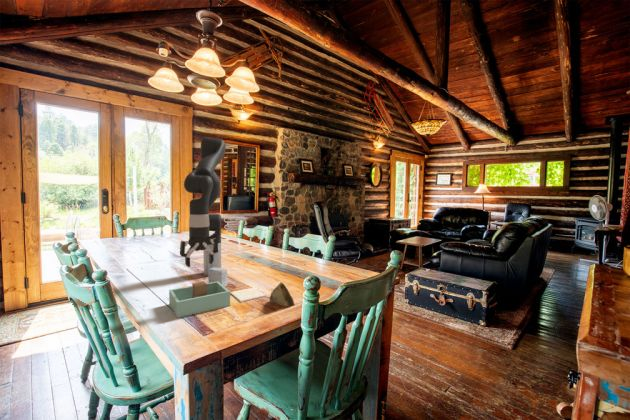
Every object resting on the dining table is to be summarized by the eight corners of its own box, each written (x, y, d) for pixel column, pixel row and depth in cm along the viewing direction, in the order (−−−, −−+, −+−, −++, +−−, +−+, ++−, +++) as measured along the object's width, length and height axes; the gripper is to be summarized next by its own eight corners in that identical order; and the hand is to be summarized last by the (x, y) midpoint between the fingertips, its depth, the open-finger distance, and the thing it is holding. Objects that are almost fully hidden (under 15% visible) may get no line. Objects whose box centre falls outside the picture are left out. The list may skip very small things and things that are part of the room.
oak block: (192, 304, 118) (192, 283, 117) (203, 302, 120) (203, 281, 119) (195, 308, 114) (195, 286, 113) (207, 305, 117) (206, 284, 116)
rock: (262, 296, 122) (270, 301, 113) (273, 278, 125) (281, 282, 116) (281, 307, 126) (290, 313, 117) (292, 290, 129) (301, 295, 120)
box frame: (169, 304, 117) (169, 289, 117) (218, 294, 129) (218, 281, 128) (176, 318, 105) (176, 302, 105) (230, 305, 117) (230, 291, 116)
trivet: (230, 293, 130) (230, 292, 130) (255, 288, 137) (255, 287, 137) (240, 302, 121) (240, 300, 121) (266, 296, 128) (266, 295, 128)
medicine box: (227, 286, 140) (227, 268, 139) (221, 289, 135) (221, 271, 135) (214, 284, 142) (214, 267, 141) (208, 286, 138) (208, 269, 137)
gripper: (214, 223, 122) (214, 260, 123) (178, 225, 113) (178, 265, 114) (220, 225, 116) (220, 264, 117) (182, 227, 107) (182, 269, 108)
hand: (199, 264), depth 116 cm, fingers open, 8 cm apart
